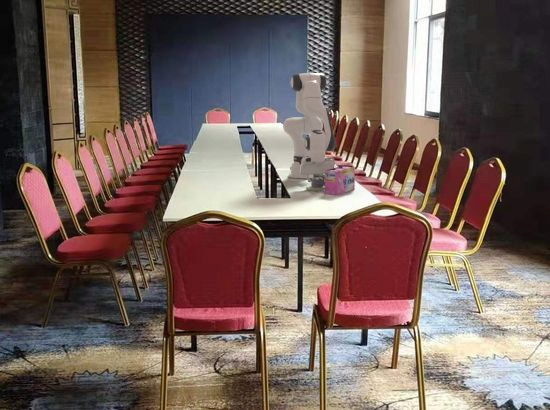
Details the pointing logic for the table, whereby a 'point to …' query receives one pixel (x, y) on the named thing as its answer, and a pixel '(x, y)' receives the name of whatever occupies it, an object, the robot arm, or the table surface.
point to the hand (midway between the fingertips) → (317, 181)
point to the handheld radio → (319, 176)
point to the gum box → (339, 180)
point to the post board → (315, 188)
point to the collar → (317, 182)
